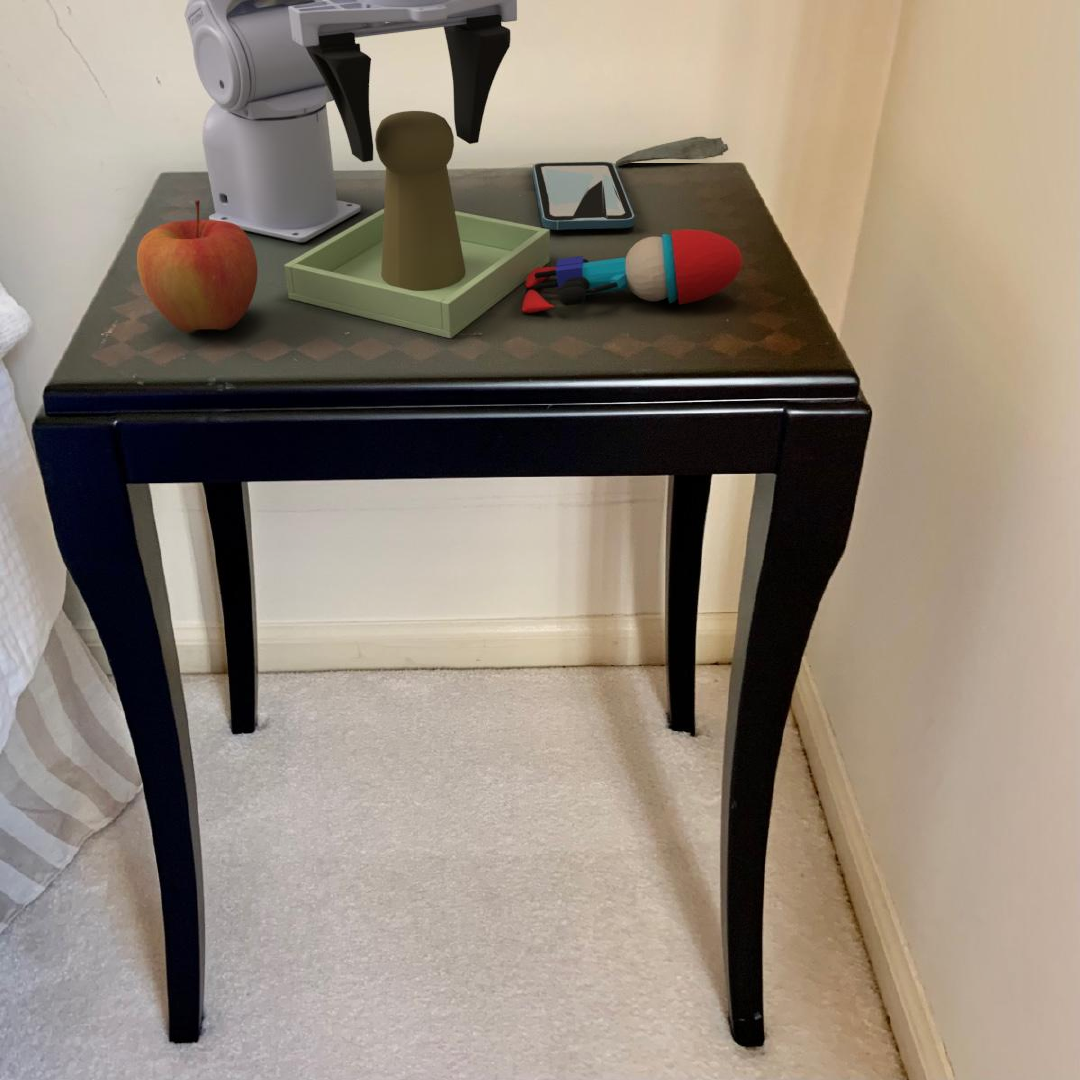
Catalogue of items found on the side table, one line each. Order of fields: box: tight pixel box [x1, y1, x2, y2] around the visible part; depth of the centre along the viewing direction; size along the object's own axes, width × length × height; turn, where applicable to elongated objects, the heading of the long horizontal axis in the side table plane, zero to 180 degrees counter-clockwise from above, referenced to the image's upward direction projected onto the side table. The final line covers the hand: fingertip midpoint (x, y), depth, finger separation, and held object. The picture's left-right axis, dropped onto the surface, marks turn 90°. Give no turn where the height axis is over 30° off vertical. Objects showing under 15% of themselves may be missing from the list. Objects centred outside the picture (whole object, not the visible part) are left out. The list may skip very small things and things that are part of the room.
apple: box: [136, 199, 258, 334], centre depth 70 cm, size 7×7×8 cm
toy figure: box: [521, 228, 743, 314], centre depth 75 cm, size 8×5×15 cm
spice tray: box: [283, 208, 551, 339], centre depth 78 cm, size 13×14×2 cm
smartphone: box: [532, 161, 636, 232], centre depth 91 cm, size 7×1×15 cm
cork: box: [374, 110, 466, 291], centre depth 75 cm, size 6×6×11 cm
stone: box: [615, 136, 729, 167], centre depth 100 cm, size 11×2×5 cm
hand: (416, 148), depth 73 cm, fingers open, 7 cm apart
